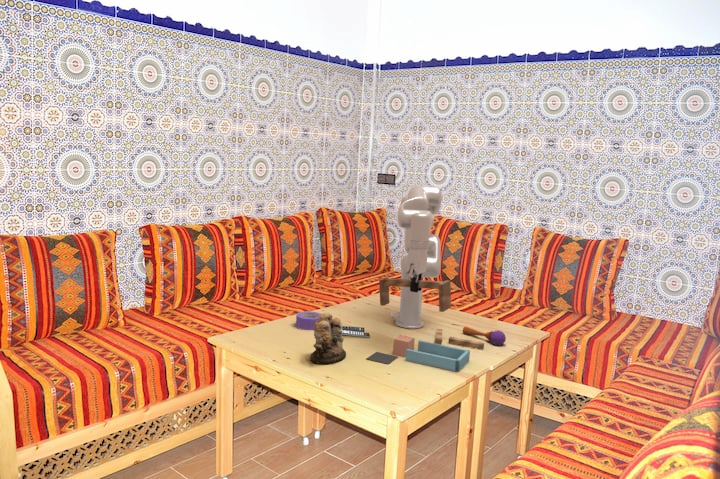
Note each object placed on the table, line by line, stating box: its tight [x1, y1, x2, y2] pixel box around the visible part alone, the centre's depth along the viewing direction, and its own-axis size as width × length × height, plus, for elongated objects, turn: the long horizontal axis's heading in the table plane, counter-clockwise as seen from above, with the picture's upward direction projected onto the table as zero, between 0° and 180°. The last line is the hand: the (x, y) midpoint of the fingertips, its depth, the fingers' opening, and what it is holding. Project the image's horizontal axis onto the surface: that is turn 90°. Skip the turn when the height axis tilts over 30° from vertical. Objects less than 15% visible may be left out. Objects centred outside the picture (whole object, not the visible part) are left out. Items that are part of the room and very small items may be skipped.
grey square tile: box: [365, 351, 399, 365], centre depth 214 cm, size 9×9×1 cm
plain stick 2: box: [448, 336, 485, 350], centre depth 233 cm, size 14×2×2 cm, turn 65°
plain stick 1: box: [434, 328, 443, 345], centre depth 240 cm, size 14×2×2 cm, turn 171°
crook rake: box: [378, 277, 452, 313], centre depth 226 cm, size 28×8×10 cm, turn 60°
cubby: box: [405, 339, 471, 373], centre depth 214 cm, size 20×13×4 cm, turn 63°
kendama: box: [462, 326, 507, 346], centre depth 242 cm, size 6×6×20 cm
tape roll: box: [295, 311, 322, 331], centre depth 249 cm, size 12×12×5 cm
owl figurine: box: [309, 312, 347, 366], centre depth 210 cm, size 18×12×17 cm, turn 157°
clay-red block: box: [392, 334, 415, 358], centre depth 220 cm, size 6×6×6 cm
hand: (415, 290), depth 226 cm, fingers closed on crook rake, 2 cm apart
